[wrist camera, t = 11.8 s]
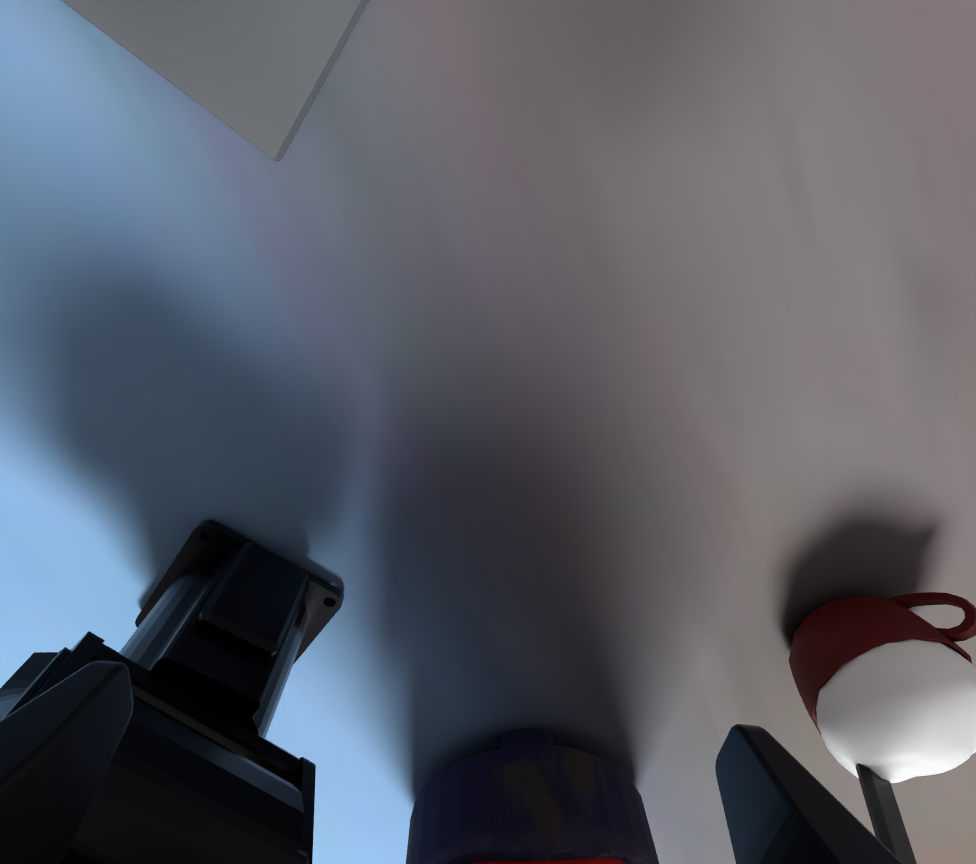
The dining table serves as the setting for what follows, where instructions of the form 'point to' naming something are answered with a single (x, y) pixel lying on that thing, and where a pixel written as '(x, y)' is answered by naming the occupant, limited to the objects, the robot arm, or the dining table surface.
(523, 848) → the red-banded navy cylinder
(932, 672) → the cocoa
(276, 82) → the rubber mat
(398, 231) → the dining table surface
